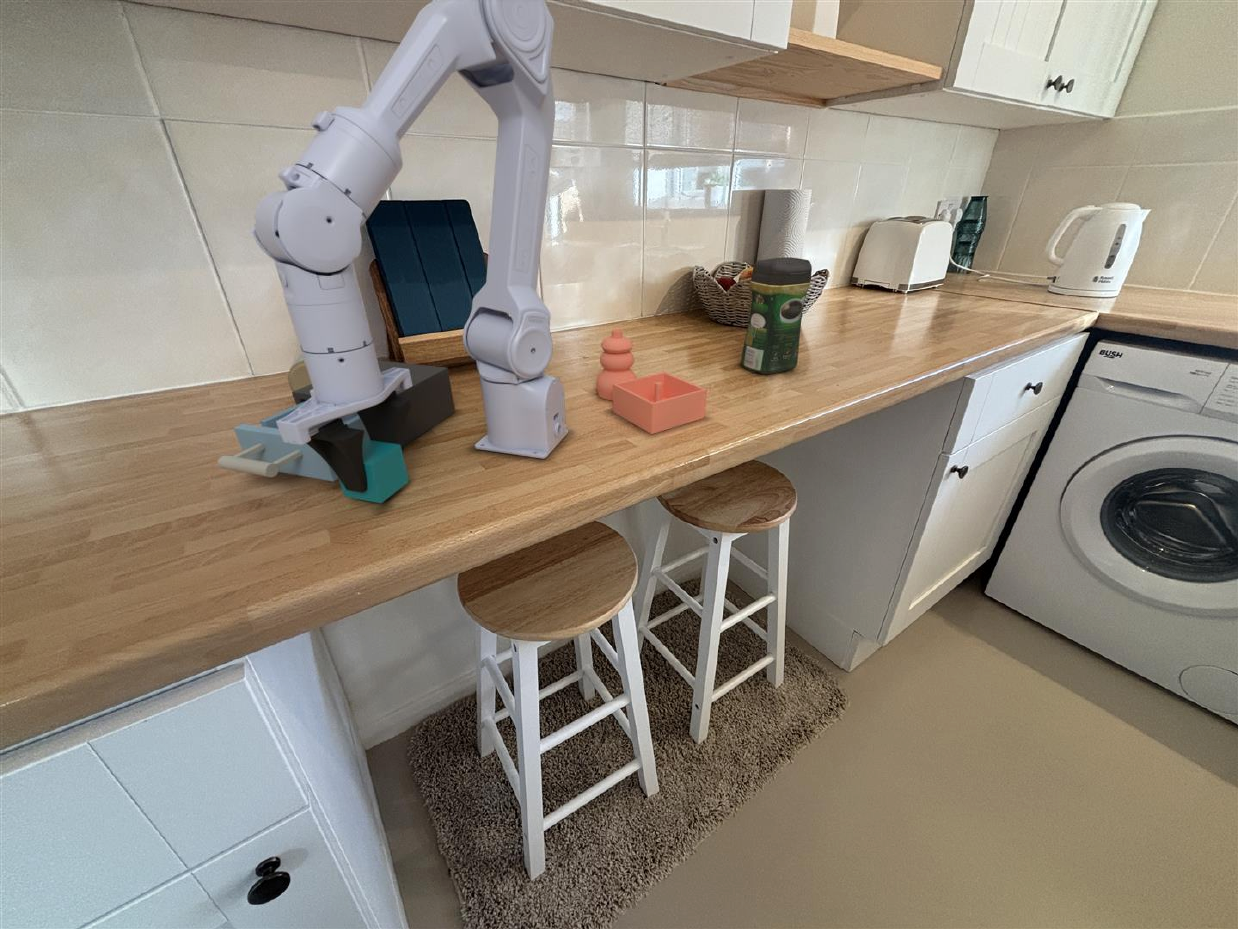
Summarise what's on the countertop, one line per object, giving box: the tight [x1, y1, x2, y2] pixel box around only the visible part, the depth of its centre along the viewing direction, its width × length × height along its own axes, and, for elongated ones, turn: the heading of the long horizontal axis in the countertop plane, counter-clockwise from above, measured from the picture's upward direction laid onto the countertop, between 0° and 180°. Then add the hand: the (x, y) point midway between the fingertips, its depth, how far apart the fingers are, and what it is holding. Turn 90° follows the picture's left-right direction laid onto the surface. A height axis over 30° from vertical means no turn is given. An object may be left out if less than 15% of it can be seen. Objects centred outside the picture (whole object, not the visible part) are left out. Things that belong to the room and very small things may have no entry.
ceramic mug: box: [287, 353, 312, 392], centre depth 74 cm, size 11×8×8 cm
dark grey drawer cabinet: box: [291, 360, 456, 449], centre depth 65 cm, size 14×13×7 cm
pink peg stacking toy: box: [595, 329, 708, 435], centre depth 71 cm, size 18×10×10 cm, turn 35°
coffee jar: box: [740, 256, 813, 375], centre depth 85 cm, size 10×8×19 cm
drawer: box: [217, 401, 370, 482], centre depth 55 cm, size 17×11×5 cm
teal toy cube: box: [338, 439, 410, 504], centre depth 50 cm, size 4×4×4 cm
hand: (374, 476), depth 50 cm, fingers closed on teal toy cube, 4 cm apart
